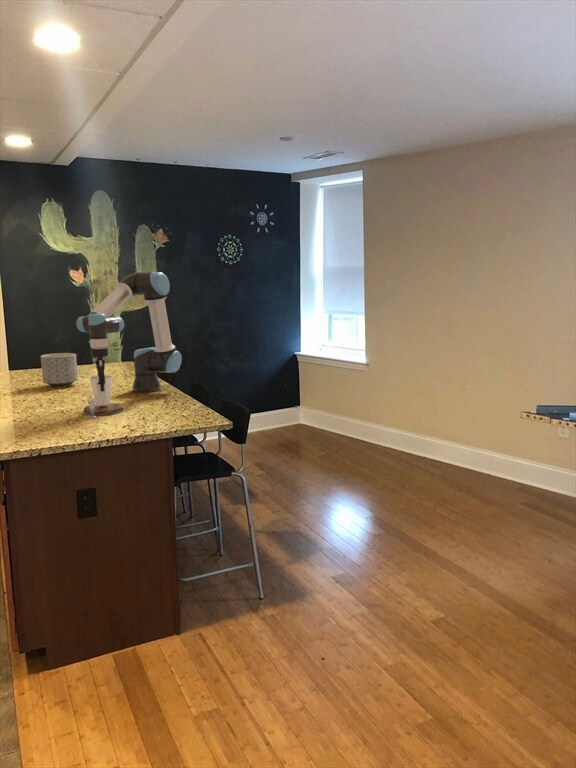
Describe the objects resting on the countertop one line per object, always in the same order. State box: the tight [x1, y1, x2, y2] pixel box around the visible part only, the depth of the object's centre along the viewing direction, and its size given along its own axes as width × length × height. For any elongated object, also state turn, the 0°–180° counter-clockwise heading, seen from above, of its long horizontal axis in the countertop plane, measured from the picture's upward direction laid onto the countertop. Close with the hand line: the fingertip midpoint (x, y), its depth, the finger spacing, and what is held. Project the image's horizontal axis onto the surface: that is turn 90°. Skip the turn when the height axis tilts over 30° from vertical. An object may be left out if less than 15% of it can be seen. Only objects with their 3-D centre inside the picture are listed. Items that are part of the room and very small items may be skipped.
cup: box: [89, 374, 113, 405], centre depth 280 cm, size 10×10×13 cm
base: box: [82, 407, 124, 417], centre depth 282 cm, size 18×18×1 cm
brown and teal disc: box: [83, 402, 123, 414], centre depth 283 cm, size 17×22×4 cm
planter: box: [40, 352, 79, 388], centre depth 351 cm, size 19×19×18 cm
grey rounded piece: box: [87, 396, 98, 419], centre depth 269 cm, size 4×4×9 cm
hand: (102, 396), depth 280 cm, fingers closed on cup, 9 cm apart
